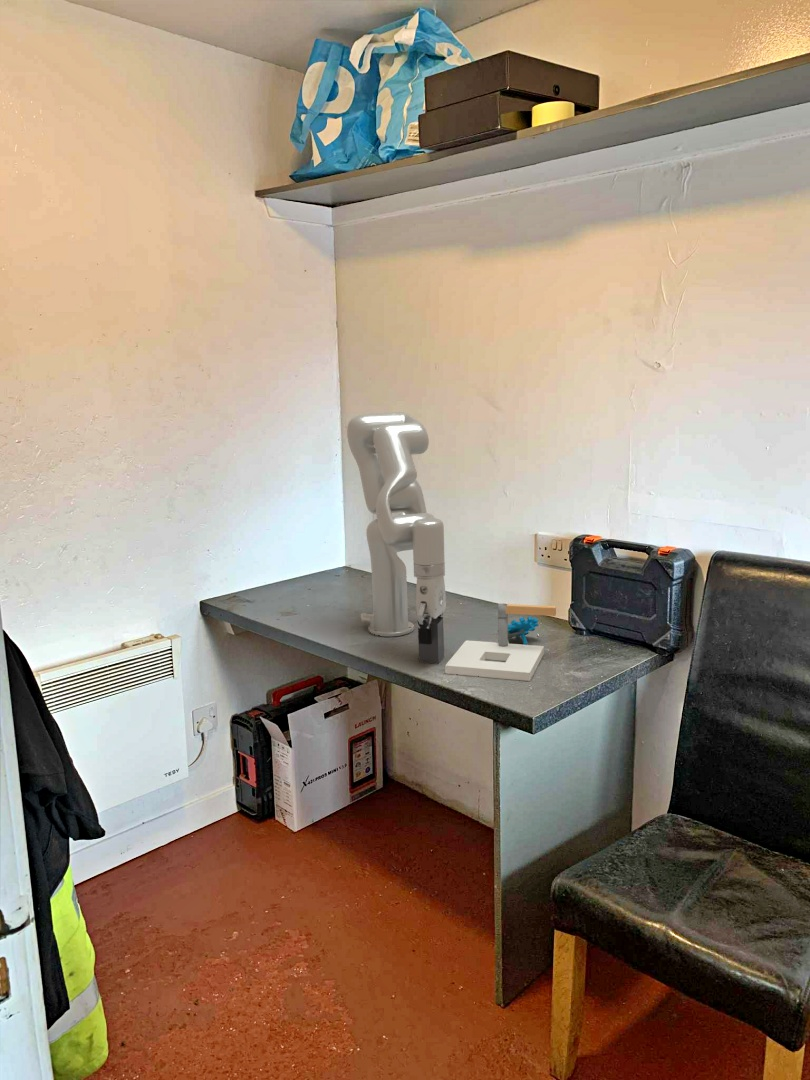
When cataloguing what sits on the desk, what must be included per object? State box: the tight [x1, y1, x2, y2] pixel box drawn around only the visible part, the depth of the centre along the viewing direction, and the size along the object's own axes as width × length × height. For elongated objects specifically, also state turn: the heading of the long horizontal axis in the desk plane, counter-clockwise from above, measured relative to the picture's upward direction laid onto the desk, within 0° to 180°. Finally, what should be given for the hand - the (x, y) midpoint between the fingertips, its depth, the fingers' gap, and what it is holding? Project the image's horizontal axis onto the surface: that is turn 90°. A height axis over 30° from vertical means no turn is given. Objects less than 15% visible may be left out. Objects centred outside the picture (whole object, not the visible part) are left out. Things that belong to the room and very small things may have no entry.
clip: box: [497, 602, 557, 618], centre depth 202 cm, size 2×14×3 cm, turn 74°
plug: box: [417, 617, 445, 665], centre depth 202 cm, size 5×5×10 cm
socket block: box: [444, 616, 545, 682], centre depth 198 cm, size 20×19×9 cm
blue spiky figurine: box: [508, 616, 539, 645], centre depth 213 cm, size 11×6×10 cm
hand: (431, 637), depth 202 cm, fingers open, 8 cm apart
